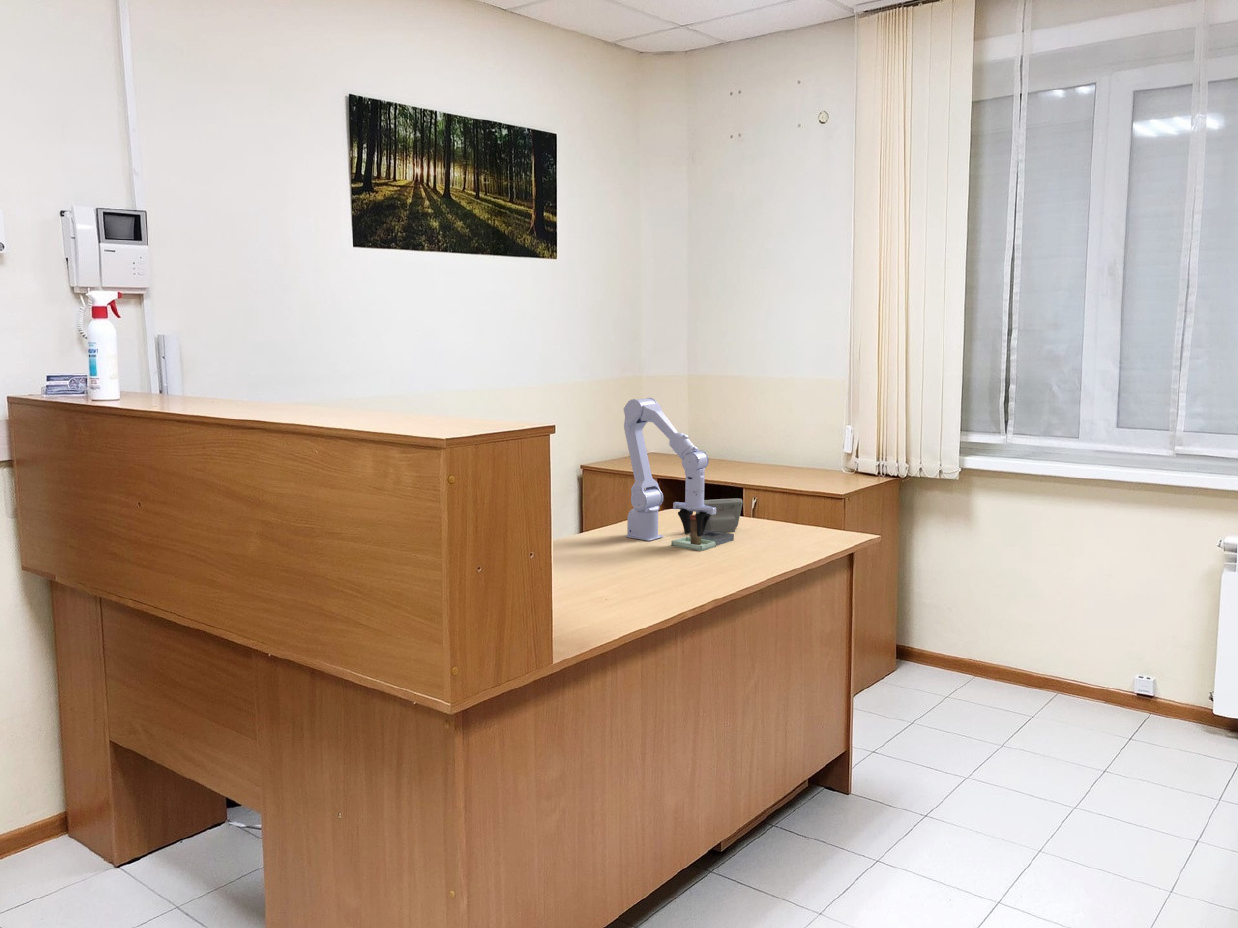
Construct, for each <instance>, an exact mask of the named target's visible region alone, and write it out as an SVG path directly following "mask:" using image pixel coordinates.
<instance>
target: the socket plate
mask: <svg viewBox="0 0 1238 928" xmlns="http://www.w3.org/2000/svg"><path fill="white" fill-rule="evenodd" d="M689 537H691V533H690V534H689ZM701 539H703V540H709V541H715V542H716V547H717V546H720V545H723V544H727V543H729V542H731V541H735V534H734V533H732V532H719V531H713V530H704V533H703V536H701Z"/></svg>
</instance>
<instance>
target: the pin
mask: <svg viewBox="0 0 1238 928" xmlns="http://www.w3.org/2000/svg"><path fill="white" fill-rule="evenodd" d="M690 519H691V533H690V534H691V544H694V545H701V536H700V537H699V536H697V521H696V517H695V514H693V515H690Z"/></svg>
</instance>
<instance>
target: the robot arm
mask: <svg viewBox="0 0 1238 928" xmlns="http://www.w3.org/2000/svg"><path fill="white" fill-rule="evenodd" d="M623 413H624V421H623V422H624V423H623V429H624V434H625V439H626V445H627V448H628V454H629V458H630V465H631V468H632V473H633V477H634V478H633V479H634V483H633V485H632V486H631V488H630V492H631V497H630V503H631V506H632V507H633V508H632V509H630V510H629V511H628V514H627V525H626V526H627V527H626V528H627V530H626V531H627V532H626V535H625V537H626V538H631V539H637V540H641V541H646V542H647V541H648V542H650V541H653V540H658V539H661V538H664V536H665V535H663V534H659V510H660V506H661V505H662V504H663V502H664V493H663V492H662V491H661V489H660V486H659V483H658V482H657V480H656V479H654V478H653V476H652V471H651V467H650V462H649V461H650V460H649V457H648V451H647V447H646V442H645V438H644V433H643V429H644V428H645V426H646V425H647V424H648V423H649V422H650V423H652V424H654V425H655V426H656V427H657V428H658V429H659V431H660V432H662V433H663V434H664V436H665V437H666V438H667V439H668V440H669V442H668V443H669V447H670V448H671V449H672V451H673V452H675V454H676V455H677V456H678V457H679V458H680V459H681V466H682V468H683V470H684V475H685V491H684V493H685V494H684V497H685V498H684V500H685V501H684V502H680V501H674V502H672V504H673V505H672V509H673V510H679V511H678V512H677V515H678V517H679V519H680V521H681V523H682V528H683V531H684V535H690V534H691V519H690V515H695V517H696V521H697V536H699V537H700V536H703V533H704V529H705V526H706V524H707V521H708V519H709V518H710V516H711V515H714V514H716V508H715V507H710V506H707V505H704V500H705V470H706V468H707V467H708V465H709V457H708V455H707V453H706V452H705V451H704V450H701V449H699V448H698V447H697V446H695V444H694V443H693V442H692V441H691V439H689V435H688V434H685V433H684V432H679V431H678V430H677V429H676V428H675V426H674V425H673V424H672V422H671V421H670V419H669V418H668V417H667V415H666V414H665V413H664V411H663V410H662V406H661V405H660V403H658V402H657V400H656V399H655V398H653V397H645V398H637V399H636V398H632V399H629V400H628V401H627V403H626V404H625V406H624V407H623ZM694 512H695V514H694ZM696 512H699V513H698V514H696Z"/></svg>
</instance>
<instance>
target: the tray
mask: <svg viewBox="0 0 1238 928" xmlns="http://www.w3.org/2000/svg"><path fill="white" fill-rule="evenodd" d="M671 547H676V548H681V549H686V550H694V551H698V552H702V551H706V550H710V549H712V548H716V547H717V546H716V542H715V541H709V540H703V539H701V545H694V544H691V537H690V536H684V537H680V538H677V539H674V540H671Z"/></svg>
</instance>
